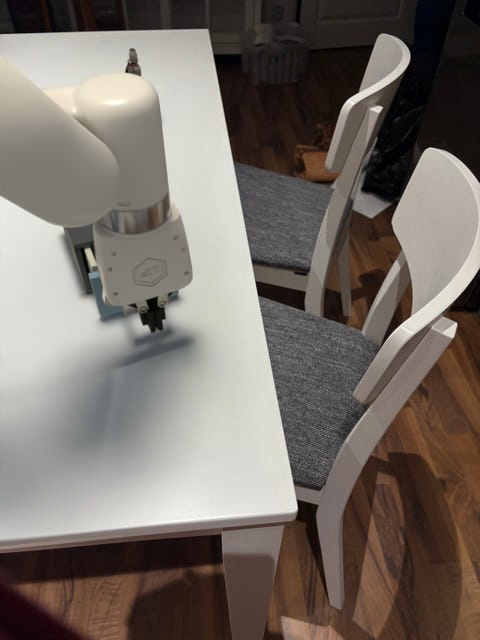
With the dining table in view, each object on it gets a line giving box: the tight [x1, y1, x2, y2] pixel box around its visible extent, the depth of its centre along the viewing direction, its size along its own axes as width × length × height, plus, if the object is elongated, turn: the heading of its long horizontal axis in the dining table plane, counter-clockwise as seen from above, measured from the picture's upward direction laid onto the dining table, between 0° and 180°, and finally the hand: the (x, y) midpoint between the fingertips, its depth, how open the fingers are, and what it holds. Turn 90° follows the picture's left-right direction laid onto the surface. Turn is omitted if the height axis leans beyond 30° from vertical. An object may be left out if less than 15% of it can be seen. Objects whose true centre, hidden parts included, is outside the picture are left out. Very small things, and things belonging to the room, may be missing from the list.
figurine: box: [124, 47, 142, 77], centre depth 106 cm, size 7×7×15 cm
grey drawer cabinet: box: [62, 223, 94, 294], centre depth 80 cm, size 15×13×9 cm
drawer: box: [81, 245, 180, 319], centre depth 74 cm, size 19×11×7 cm, turn 24°
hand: (154, 324), depth 67 cm, fingers closed
